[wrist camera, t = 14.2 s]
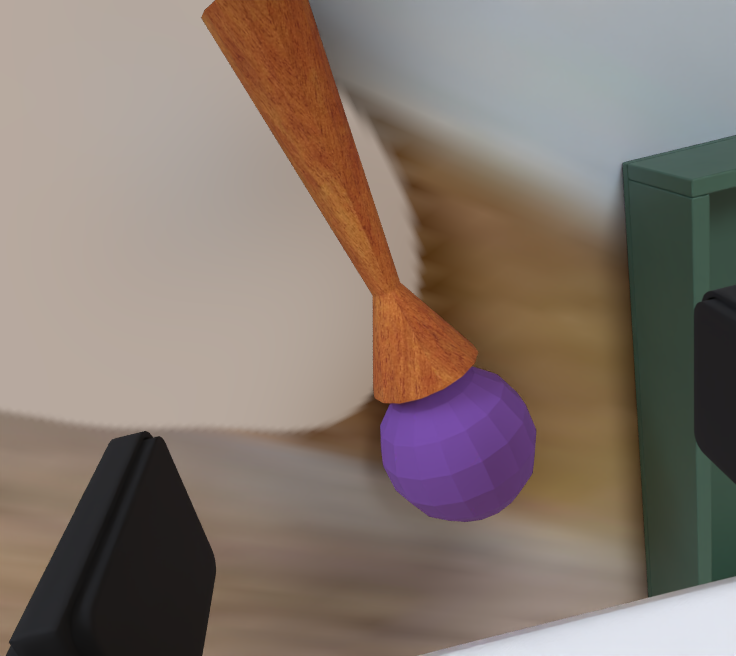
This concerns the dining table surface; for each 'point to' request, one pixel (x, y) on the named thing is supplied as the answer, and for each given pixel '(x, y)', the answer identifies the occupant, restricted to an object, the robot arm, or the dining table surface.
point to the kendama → (382, 281)
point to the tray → (679, 354)
